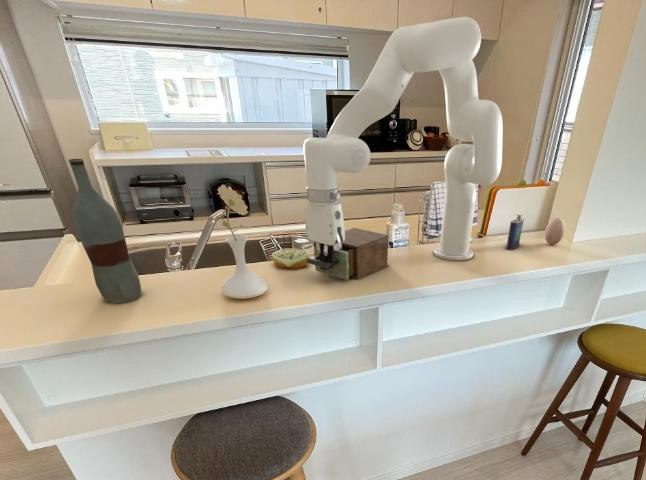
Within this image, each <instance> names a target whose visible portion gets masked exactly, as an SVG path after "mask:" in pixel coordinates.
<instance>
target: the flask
mask: <svg viewBox="0 0 646 480" xmlns="http://www.w3.org/2000/svg"><path fill="white" fill-rule="evenodd" d="M524 222H525V218H523V214H516V218H515V219H513V220H511V221H510V224H509V230H508V236H507V241H506V242H507V243H506V246H505V249H506V250H507V251H514V250H515V249H517V248H518V247H519V245H520V242H521V235H522V230H523V225H524Z"/></svg>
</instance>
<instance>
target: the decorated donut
mask: <svg viewBox="0 0 646 480" xmlns="http://www.w3.org/2000/svg"><path fill="white" fill-rule="evenodd" d="M308 258H310V256H309V254H308V252H307V251H305V250H303V249H299V248H293V247H292V248H290V247H289V248H281V249H278V250H276V251H274V252H272V253H271V260H272V261H273V263H274V265H275V266H277V267H278V268H281V269H292V270H294V269H300V268H303V267H306V266H307V265H308V263H307V259H308Z"/></svg>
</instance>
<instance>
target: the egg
mask: <svg viewBox="0 0 646 480" xmlns="http://www.w3.org/2000/svg"><path fill="white" fill-rule="evenodd" d="M565 233H566V224H565V222H564V220H563V219H562V218H560V217H554V218H552V219H551V220H550V221H549V222H548V224H547V225H546V228H545V230H544V240H545V241H546V243H547V244H549V245H551V246H554V245H558V244H559V243H560V242H561V241H562V240H563V239H564V237H565Z"/></svg>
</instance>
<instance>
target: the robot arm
mask: <svg viewBox="0 0 646 480" xmlns="http://www.w3.org/2000/svg"><path fill="white" fill-rule="evenodd" d="M481 44H482V31H481V28H480V25H479V23H478V22H477V21H476V20H475V19H474V18H472V17H470V16H460V17H453V18H448V19H447V18H446V19H441V20H436V21H433V22H423V23H418V24H412V25H403V26H401V27H398V28H396V29H395V30H394V31H393V32H392V33H391V35H390V36H389V38H388V39H387V41H386V43H385V45H384V47H383V48H382V51H381V53H380V55H379V56H378V59H377V60H376V62H375V64H374V66H373V68H372V70H371V71H370V73H369V76H368V77H367V79H366V81H365V83H364V85H363V86H362V88H361V89H360V90H359V91H358V92H356V93H355V94H354V96H353V97H352V98H351V99H350V100H349V102H348V103H347V104H345V106H343V108H342V109H341V110H340V112H339V113H338V115H337V116H336V117H335V119H334V122H333V124H332V125H331V127H330V129H329V131H328V133H327V135H326V136H325V137H309V138H306V139H305V140H304V142H303V156H304V170H305V171H304V172H305V183H306V199H307V200H306V201H305V214H304V216H305V217H304V220H305V224H304V225H305V235H306V238H307V239H308V243H309V244H311V245H312V246H313V247H314V246H315V247H316V249H317V253H318V254H319V258H320V261H323V262H327V263H331V262H332V254H333V253H334V251H335V250H340V249H342V244H341V242H344V241H345V231H346V230H345V217H344V213H343V212H344V211H343V207H342V204H341V202H340V201H339V200H340V199H341V194H340V193H339V192H338V173H350V174H358V173H360V172H363V171H364V170H366V169H367V168H368V167H369V164H370V162H371V158H372V154H371V149H370V147H369V146H368V144H367V143H366V142H365V141H364V140H363V139H360V138H359V137H360V136H361V135H362V134H363V132H364V131H365V130H366V129H367V128H368V127H369V126H371V125H372V124H374V123H376V122H377V121H379V120H382V119H383V118H385V117H386V116H388V115H390V114H391V113H392V112H393V111H394V110H395V108H396V106H397V104H398V102H399V101H400V99H401V96H402V95H403V94H404V91H405V90H406V88H407V86H408V84H409V82H410V81H411V79H412V78H413V75H414V74H415V73H427V72H428V73H429V72H433V71H434V72H435V71H438V73H439V74H440V77H441V79H442V82H443V83H442V84H443V86H444V87H443V88H444V99H445V100H444V101H445V112H446V113H445V114H446V128H447V133H448V134H449V136H450V137H451V138H453V139H454V140H457V141H462V142H463V141H464V142H471V143H472V144H471V143H470V144H469V143H459V144H456V145H454V146H452V147H451V148H450V149H448V152H447V153H446V155H445V158H444V166H443V167H444V181H445V182H444V185H445V186H444V187H445V188H444V200H443V209H442V210H443V211H442V218H441V219H442V220H441V228H440V229H441V230H440V239H439V246H438V247H435V248H434V251H433V252H434V253H433V254H434V256H436V257H437V258H440V259H443V260H449V261H467V260H470V259H472V258H473V257H474V251H473V250H472V249H470V245H471V244H473V243H474V239H473V238H472V231H473V224H474V217H475V208H476V203H477V202H476V201H477V191H476V186H475V185H477V186H484V187H485V186H490V185H492V184H493V183H495V182H496V181H497V179H498V177H499V175H500V173H501V169H502V164H503V126H504V125H503V116H502V112H501V109H500V107H499V105H498V104H497V103H495V102H494V101H493V100H489V99H480V98H479V91H478V90H479V89H478V88H479V87H478V77H477V76H478V75H477V69H476V65H475V62H474V59H475V57H476V56H477V54H478V52H479V50H480V48H481ZM330 268H332V265H331V266H330ZM330 268H329V269H330ZM320 269H323V270H327V269H326V268H323V267H320Z"/></svg>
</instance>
